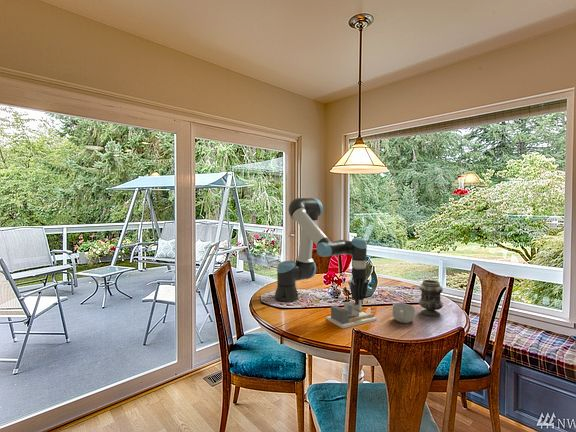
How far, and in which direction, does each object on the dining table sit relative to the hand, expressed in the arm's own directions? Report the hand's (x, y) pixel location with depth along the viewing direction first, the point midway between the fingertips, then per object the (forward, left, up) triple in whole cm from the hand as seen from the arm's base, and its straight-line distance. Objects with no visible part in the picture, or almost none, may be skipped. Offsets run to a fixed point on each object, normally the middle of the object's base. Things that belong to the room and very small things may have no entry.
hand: (358, 311), depth 163 cm
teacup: (+15, +16, -4) cm, 22 cm away
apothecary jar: (+14, +39, -4) cm, 42 cm away
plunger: (+2, -5, -2) cm, 6 cm away
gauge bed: (0, -5, -3) cm, 6 cm away
